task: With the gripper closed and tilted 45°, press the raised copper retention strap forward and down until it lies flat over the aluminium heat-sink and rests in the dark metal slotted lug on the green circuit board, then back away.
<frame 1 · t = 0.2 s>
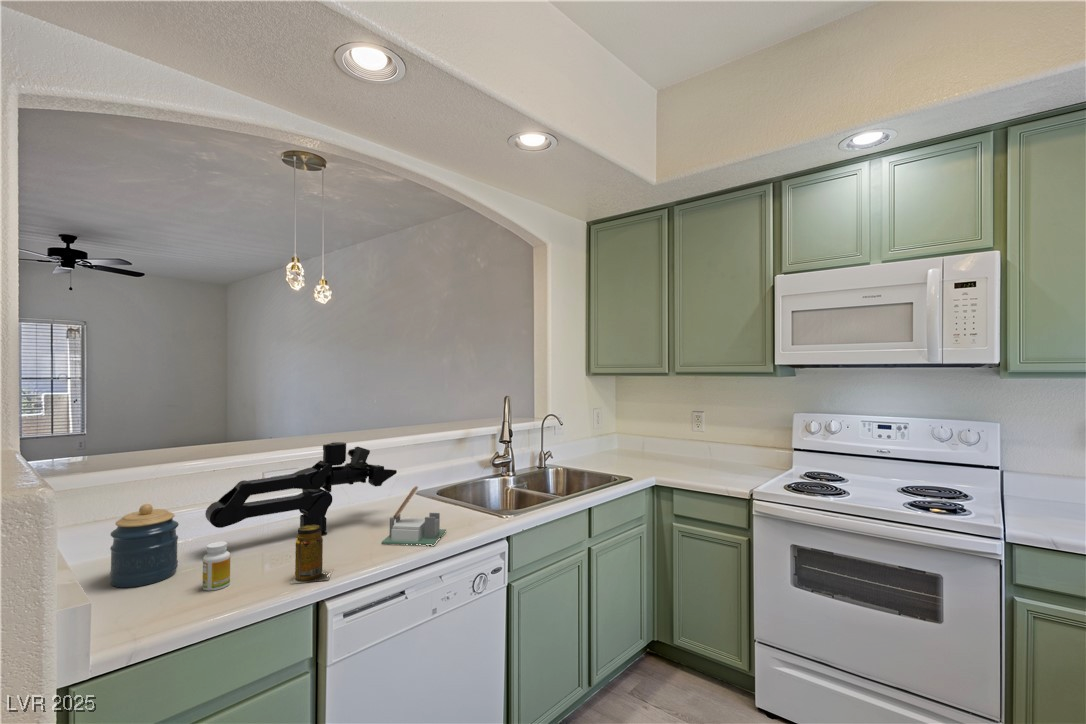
hand: (390, 469, 172), 17 cm above the worktop, tool horizontal, fingers open, 9 cm apart
supplement bottle: (216, 587, 117), on the worktop
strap: (404, 503, 152), point 10 cm above the worktop, hinge at 35.0°
canister: (144, 578, 122), on the worktop
heatsink: (412, 538, 151), on the worktop
condiment: (312, 577, 123), on the worktop
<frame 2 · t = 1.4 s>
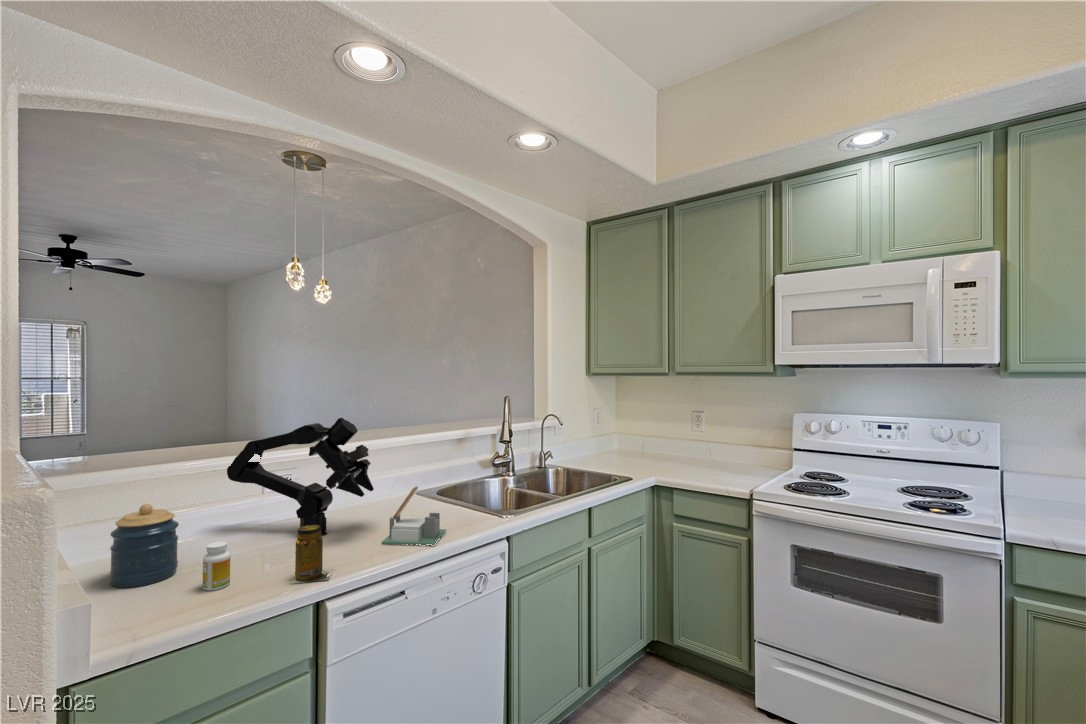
hand: (368, 493, 153), 13 cm above the worktop, tool tilted 45°, fingers open, 6 cm apart
nothing on the worktop moved.
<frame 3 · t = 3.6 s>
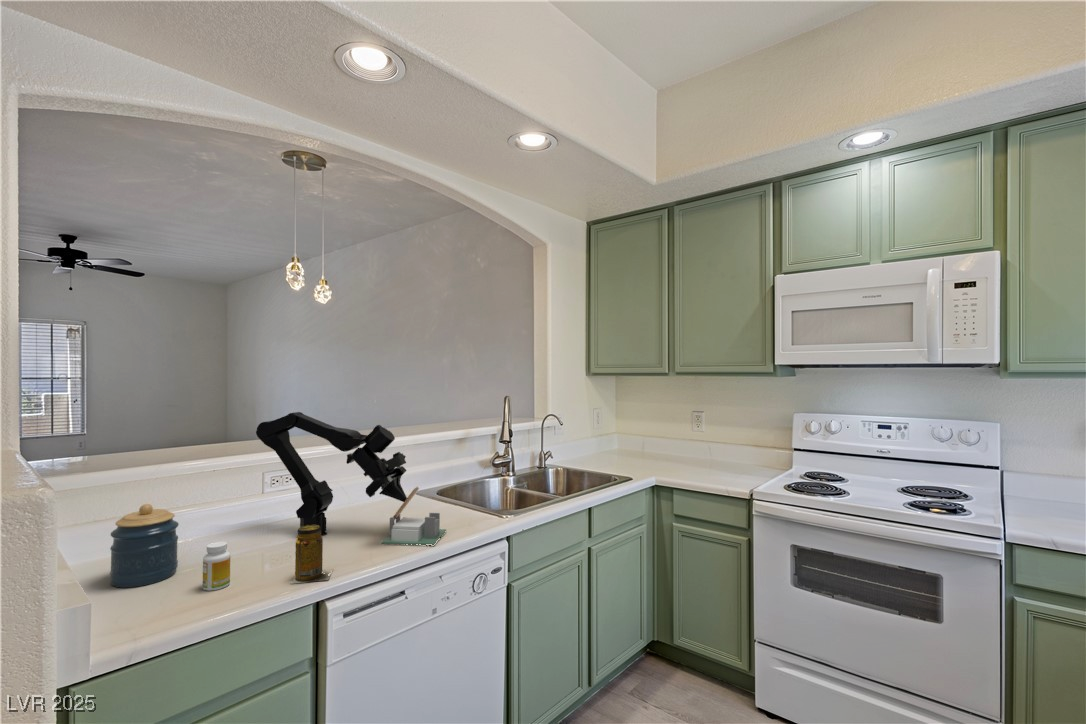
hand: (406, 500, 152), 11 cm above the worktop, tool tilted 45°, fingers closed, pressing on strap
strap: (405, 503, 152), point 10 cm above the worktop, hinge at 36.7°, touching gripper
everything else where it was.
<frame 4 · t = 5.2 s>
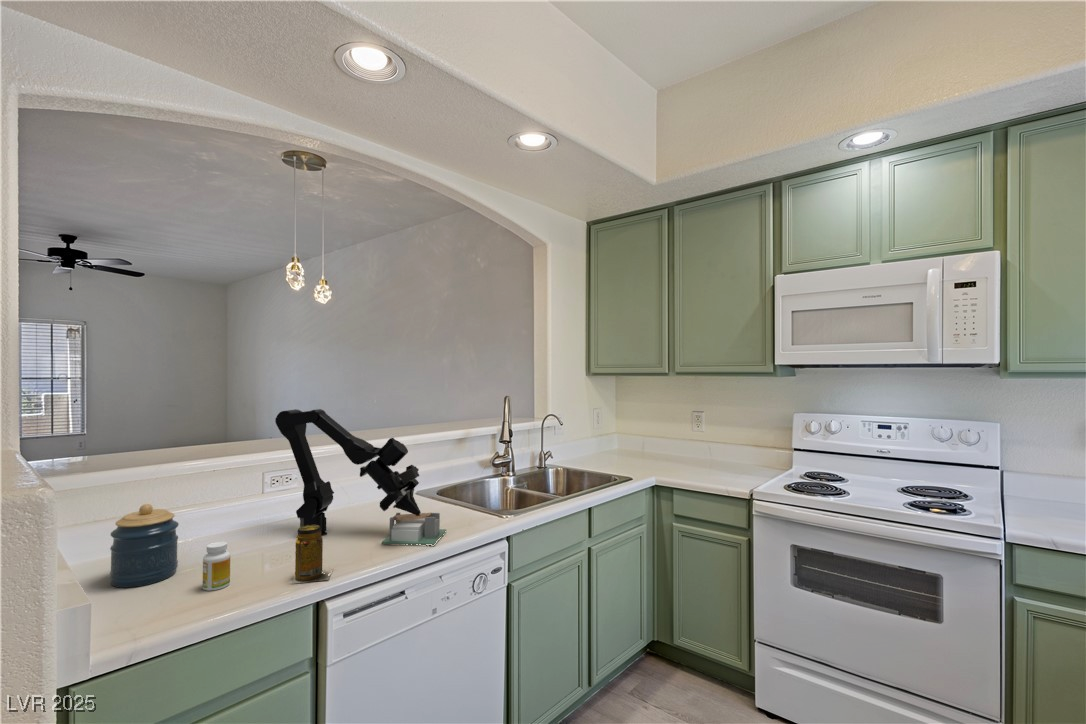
hand: (419, 514, 151), 7 cm above the worktop, tool tilted 45°, fingers closed, pressing on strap
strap: (412, 516, 151), point 6 cm above the worktop, hinge at 85.1°, touching gripper
everything else where it was.
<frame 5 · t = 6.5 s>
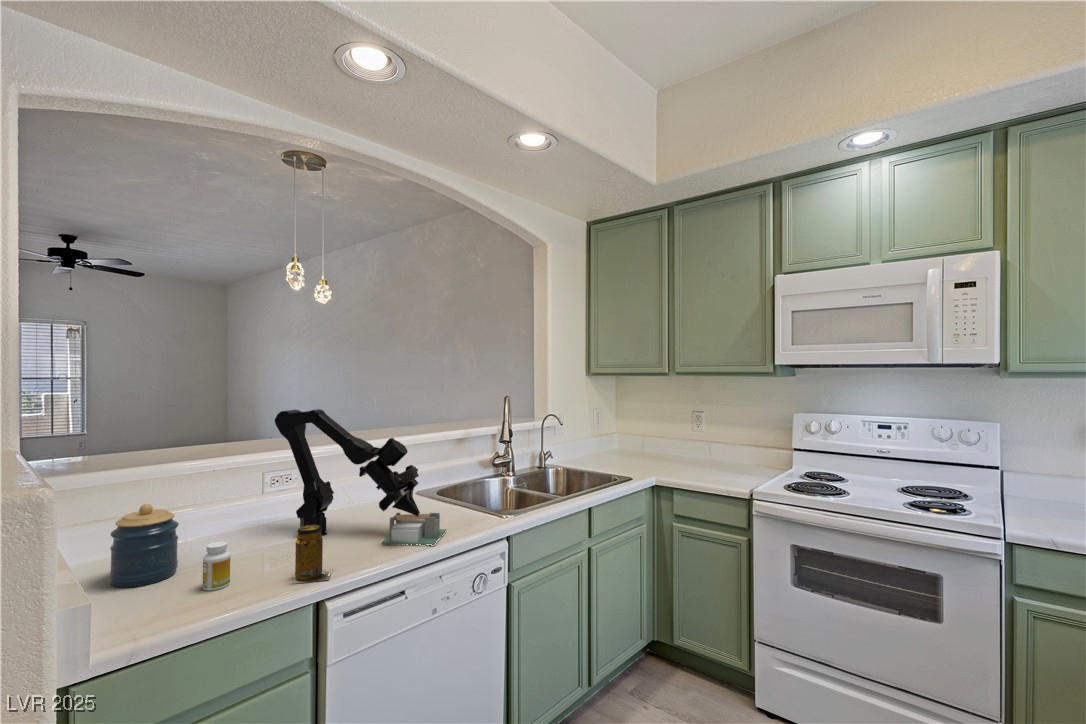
hand: (418, 514, 151), 7 cm above the worktop, tool tilted 45°, fingers closed
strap: (412, 517, 151), point 6 cm above the worktop, hinge at 86.8°
everything else where it was.
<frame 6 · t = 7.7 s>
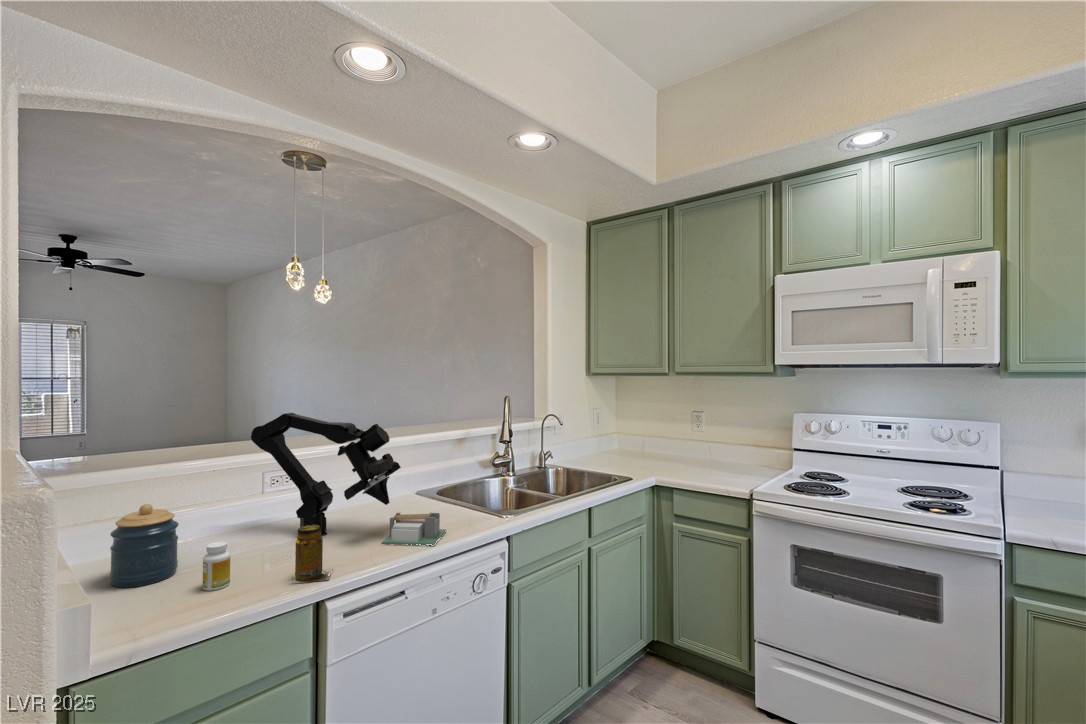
hand: (387, 503, 152), 10 cm above the worktop, tool tilted 35°, fingers closed
nothing on the worktop moved.
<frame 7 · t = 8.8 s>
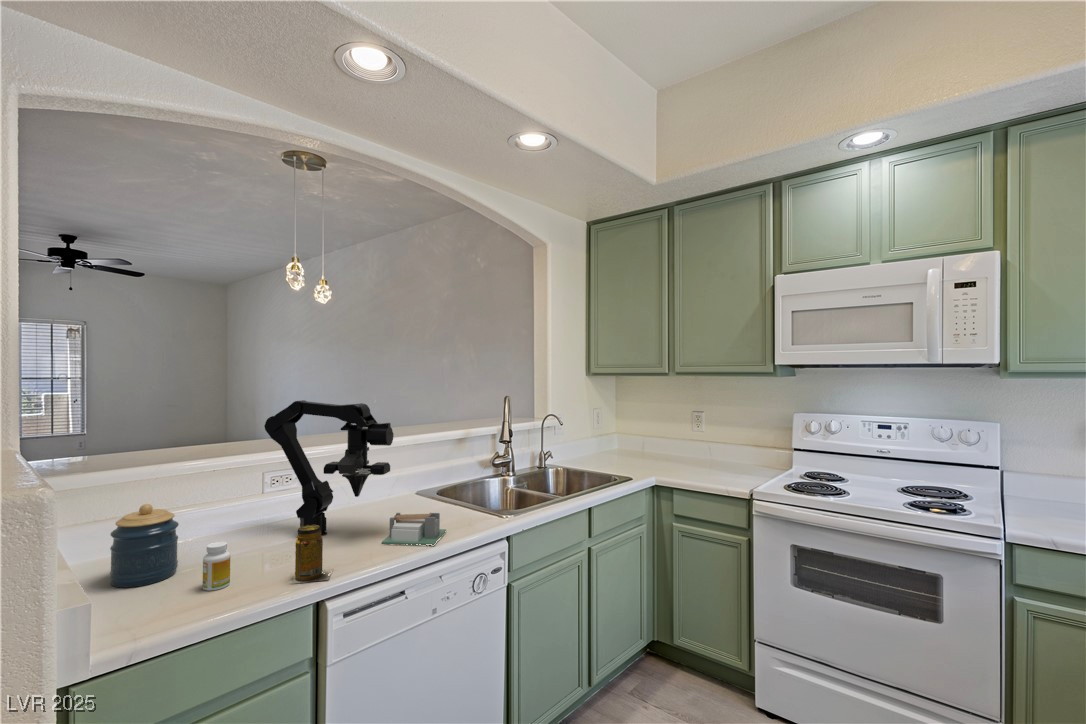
hand: (357, 496, 153), 12 cm above the worktop, tool pointing down, fingers closed
nothing on the worktop moved.
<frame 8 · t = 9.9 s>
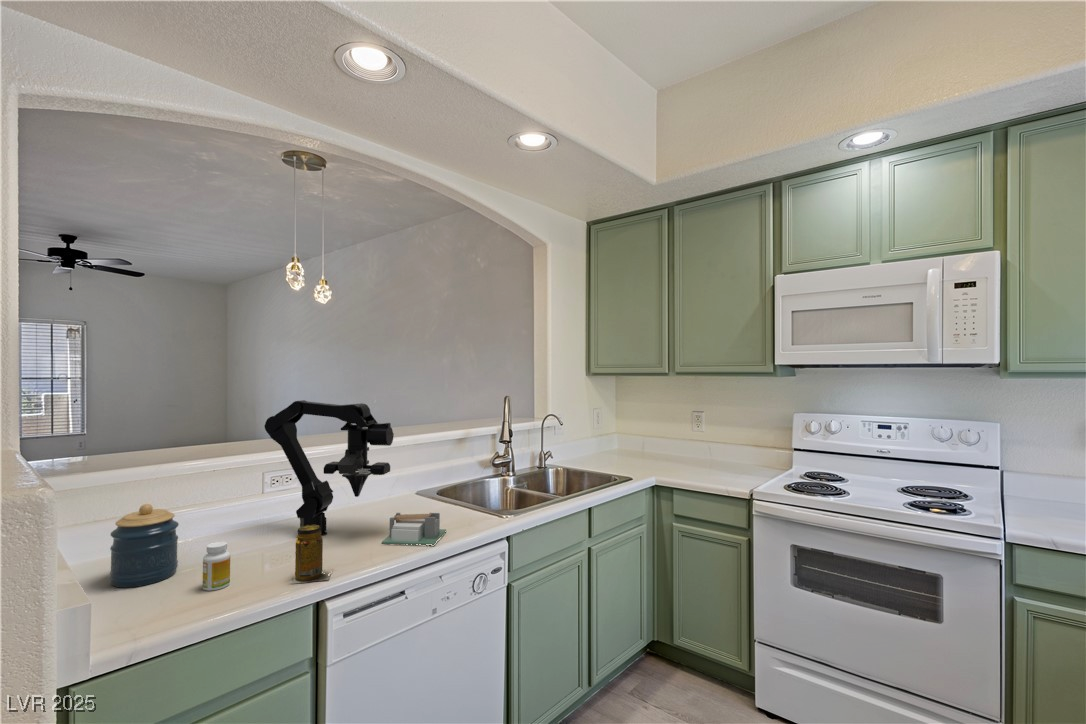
hand: (357, 496, 153), 12 cm above the worktop, tool pointing down, fingers closed
nothing on the worktop moved.
at the end: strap at +87° (first picture: +35°); the gripper is holding nothing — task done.
